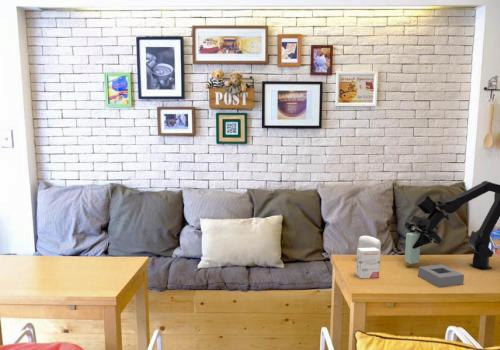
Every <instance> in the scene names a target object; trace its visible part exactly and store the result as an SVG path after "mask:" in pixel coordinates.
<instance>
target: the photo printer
mask: <svg viewBox="0 0 500 350" xmlns="http://www.w3.org/2000/svg"><path fill="white" fill-rule="evenodd" d="M381 245H382V242H381V240H380V239H378V238H376V237H373V236H371V235H361V236H359V238H358V245H357V248H377V249H378V250H380V251H381V249H382V248H381V247H382V246H381Z"/></svg>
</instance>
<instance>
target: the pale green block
mask: <svg viewBox="0 0 500 350" xmlns="http://www.w3.org/2000/svg"><path fill="white" fill-rule="evenodd" d="M405 237H406V238H405V251H404V260H403V261H404V262H406V263H407V264H410V265H411V264H419V263H420V254H421V246H420V247H418V248H415V249H413V248H412V247H413V245H414V244H415V243H416V241H417V240H418V239H419V237H420V234H419V233H416V232H413V233H410V232H406V235H405Z"/></svg>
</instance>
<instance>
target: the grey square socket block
mask: <svg viewBox="0 0 500 350" xmlns="http://www.w3.org/2000/svg"><path fill="white" fill-rule="evenodd" d="M417 276H418V277H419V278H421V279H423V280H425V281H427V282H429V283H430V284H432V285H434V286H436V287H437V288H444V287H452V286H461V285H464V280H465V274H464V273H461V272H460V271H457V270H455V269H453V268H450V267H449V266H446V265H444V264H442V263H441V264H435V265H434V264H431V265H424V266H418V273H417Z"/></svg>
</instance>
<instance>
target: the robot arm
mask: <svg viewBox="0 0 500 350" xmlns="http://www.w3.org/2000/svg"><path fill="white" fill-rule="evenodd" d="M488 192H492V193H494V194H493V196H494V198H493V203H492V205H491V206H490V208H489V210H488V212H487V214H486V216H485V218H484V219H483V222H482V223H481V225H480V227H479V229H478V230H476V231H474V230H472V232H471V233H470V235H469V236H468V238H467V239H468V245H469V247H471V249H472V250H471V251H473V257H472V263H469V266H471V267H473V268H477V269H479V270H490V269H492V268H493V267H492V266H490V258H491V257H493V255H494V251H493V250H492V249H490V247H489V246H490V242H491V234H492V232H493V230H494V229H495V227H496V224H497V223H498V221H499V220H500V184H497V183H494V182H491V181H488V180H483V181H481V183H479V184H477V185H474V186H472V187H471V188H469V189H467V190H465V191H463V192H461V193H459V194H456V195H453V196H448V197H445V198H442V199H441V200H438V201H433V200H432V198H431V197H430V196H429V195H428V194H426V195H425V196H422V197H420V198H418V199H417V201H416V202H415V203H414V204H415V207H417V208H418V209H419V210H420V211H421V212H422V214H424V215H427V214H428V215H427V217H425V216H422V217H420V216H418V215H412V217H411V219H410V222H409V221H408V222H407V221H406V222H405V224H404V225H403V226H404V228H405V229H406V230H407V231H408V233H413V232H416V233H419V234H420V237H419V239H418V240H417V241H416V243H415V244H414V245H413V247H412V248H413V249H415V248H418V247H420V248H421V247H423V246H426V245H428V244H432V241H433V244H436V245H440V244H441V243H442V238H441V236H440V235H439V234H438V232H437V231H434V230H438V229H439V227H438V226H439V224H440V223H441V222H442V221H450V217H449V214H454V213H456V212H457V211H458V210H459V209H460V208H462V206H463V205H465V204H466V203H469V202H471V201H472V200H474V199H477V198H478V197H481V196H482V195H484V194H486V193H488ZM445 213H447V214H445Z"/></svg>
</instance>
